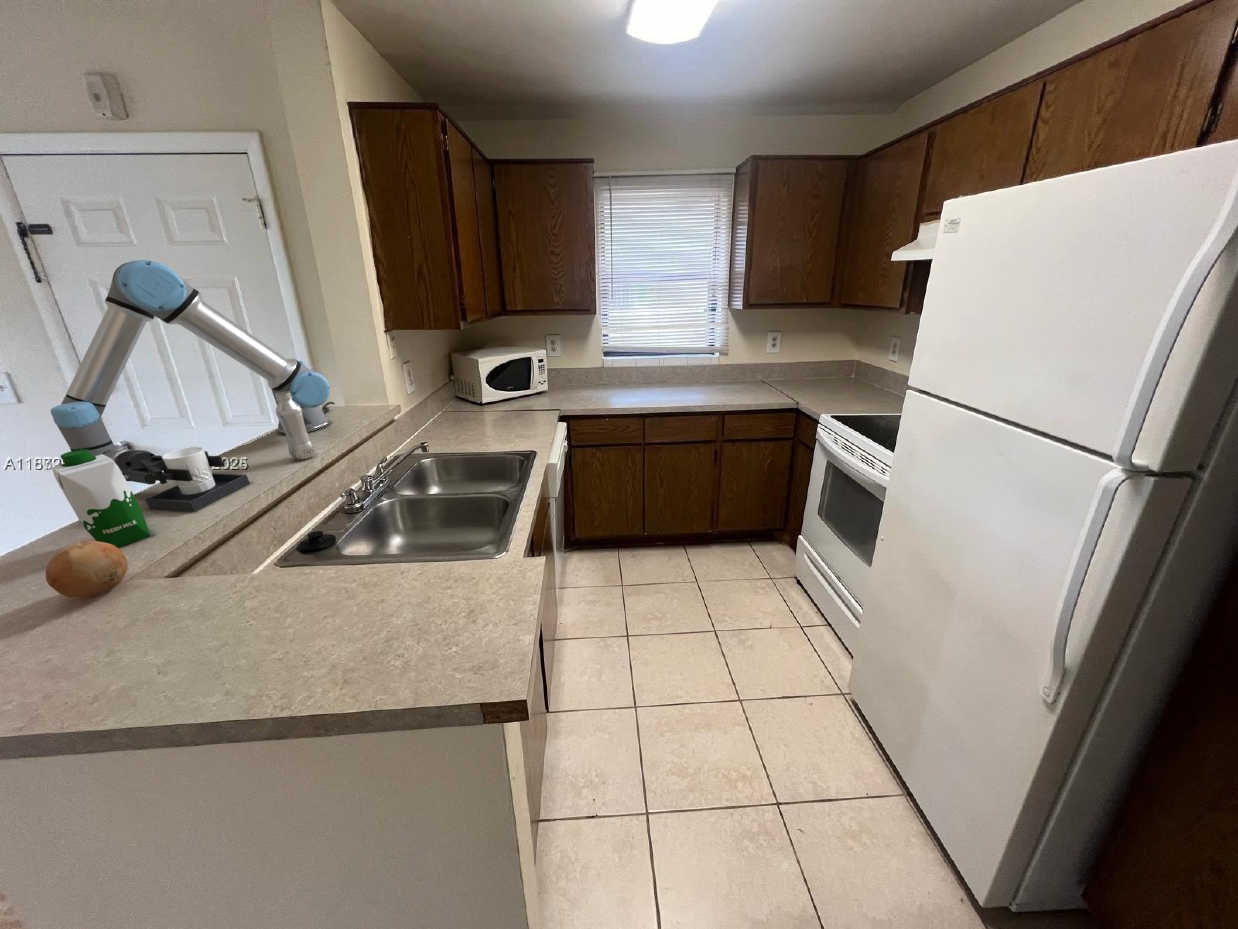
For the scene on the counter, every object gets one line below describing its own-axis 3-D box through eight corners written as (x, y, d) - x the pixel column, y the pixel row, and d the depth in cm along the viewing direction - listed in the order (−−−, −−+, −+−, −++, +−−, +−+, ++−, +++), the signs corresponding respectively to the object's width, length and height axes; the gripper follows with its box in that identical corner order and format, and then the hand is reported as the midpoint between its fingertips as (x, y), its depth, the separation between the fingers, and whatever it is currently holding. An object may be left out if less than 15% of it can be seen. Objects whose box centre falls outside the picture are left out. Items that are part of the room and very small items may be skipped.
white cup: (201, 495, 116) (184, 458, 112) (170, 496, 116) (152, 459, 112) (226, 481, 123) (211, 446, 119) (196, 482, 123) (181, 446, 119)
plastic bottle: (294, 464, 137) (270, 397, 129) (290, 457, 142) (267, 393, 134) (319, 457, 141) (298, 392, 133) (314, 451, 146) (293, 388, 138)
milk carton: (143, 524, 108) (100, 443, 100) (158, 535, 103) (114, 451, 95) (90, 543, 101) (39, 458, 93) (103, 555, 97) (51, 467, 88)
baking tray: (209, 481, 128) (205, 472, 127) (250, 483, 126) (246, 474, 125) (149, 508, 115) (144, 499, 114) (194, 511, 113) (190, 502, 112)
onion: (98, 576, 90) (71, 531, 86) (152, 572, 91) (128, 528, 86) (45, 611, 81) (12, 563, 77) (104, 607, 82) (75, 559, 78)
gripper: (177, 461, 131) (247, 465, 127) (91, 496, 113) (169, 501, 109) (166, 436, 128) (237, 439, 124) (75, 467, 110) (155, 472, 106)
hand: (205, 468), depth 116 cm, fingers closed on white cup, 8 cm apart
